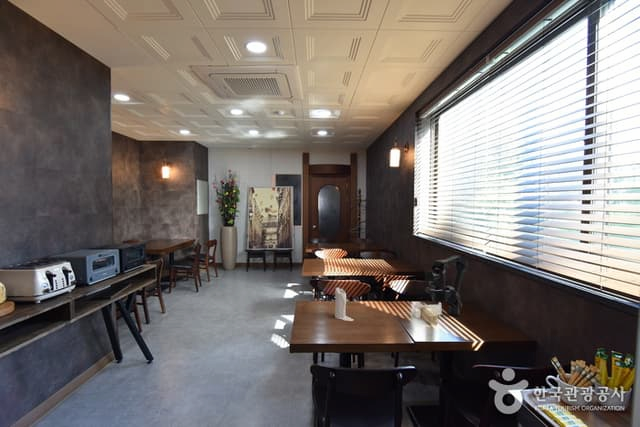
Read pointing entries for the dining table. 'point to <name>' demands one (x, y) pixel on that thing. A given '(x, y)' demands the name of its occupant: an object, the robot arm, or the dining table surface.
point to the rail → (429, 316)
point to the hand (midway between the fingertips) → (439, 302)
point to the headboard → (432, 308)
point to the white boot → (341, 305)
